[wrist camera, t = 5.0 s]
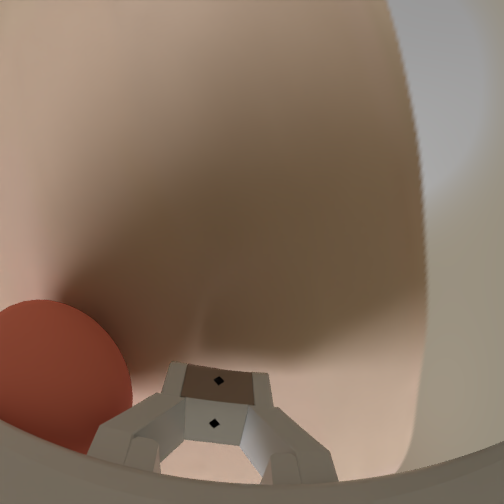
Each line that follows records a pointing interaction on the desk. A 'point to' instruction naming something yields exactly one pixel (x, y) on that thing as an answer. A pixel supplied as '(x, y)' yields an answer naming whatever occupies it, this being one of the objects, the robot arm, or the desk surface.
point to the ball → (59, 373)
